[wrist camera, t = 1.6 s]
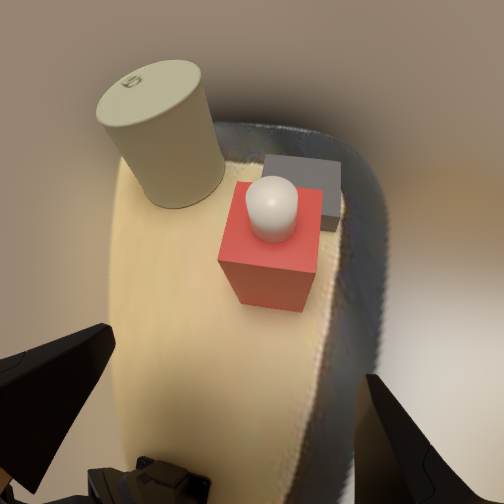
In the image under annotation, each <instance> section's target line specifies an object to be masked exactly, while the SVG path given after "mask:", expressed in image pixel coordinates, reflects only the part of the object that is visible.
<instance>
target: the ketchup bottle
mask: <svg viewBox="0 0 504 504" xmlns="http://www.w3.org/2000/svg"><path fill="white" fill-rule="evenodd" d="M322 196H323V190H315V189H307V188H299V187H294V185H293V184H292V183H291V182H290V181H288V180H286V179H285V178H282V177H278V176H266V177H262V178H260V179H258V180H256V181H255V182H253V183H251V182H239V181H237V184H236V187H235V191H234V195H233V199H232V203H231V207H230V211H229V215H228V219H227V223H226V227H225V231H224V235H223V239H222V243H221V247H220V251H219V255H218V262H219V264H220V266H221V268H222V269H223V271H224V273H225V275H226V277H227V279H228V281H229V282H230V284H231V286H232V288H233V290H234V292H235V293H236V295H237V297H238V299H239V301H240V303H242V304H248V305H254V306H261V307H267V308H274V309H281V310H288V311H296V312H302V311H303V308H304V306H305V303H306V300H307V297H308V294H309V291H310V289H311V286H312V283H313V280H314V277H315V274H316V266H317V256H318V246H319V235H320V223H321V210H322Z"/></svg>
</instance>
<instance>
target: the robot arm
mask: <svg viewBox="0 0 504 504" xmlns="http://www.w3.org/2000/svg"><path fill="white" fill-rule="evenodd" d="M115 345H116V342H115V338H114V334H113V330H112V327H111V326H110V325H107V324H104V323H100V324H97V325H94V326H92V327H89V328H86V329H84V330H81V331H78V332H76V333H73V334H70V335H68V336H65V337H62V338H60V339H57V340H54V341H52V342H49V343H46V344H43V345H41V346H38V347H35V348H33V349H30V350H28V351H24V352H22V353H19V354H16V355H13V356H10V357H7V358H4V359H0V504H27V503H23V502H21V501H18V500H15V499H14V494H13V489H12V486H11V485H10V484H9V483H10V482H11V480H12V479H14V480H16V481H17V482H18V483H19V484H20V485H22V486H23V487H24V488H25V489H27V490H28V491H29V492H31V493H32V494H33V495H34V494H35V493H36V491H37V489H38V487H39V485H40V483H41V481H42V479H43V477H44V475H45V473H46V471H47V469H48V467H49V466H50V464H51V462H52V460H53V458H54V456H55V454H56V452H57V450H58V449H59V447H60V445H61V443H62V441H63V440H64V438H65V436H66V434H67V433H68V431H69V429H70V427H71V426H72V424H73V422H74V420H75V419H76V417H77V415H78V414H79V412H80V410H81V408H82V407H83V405H84V404H85V402H86V400H87V399H88V397H89V395H90V394H91V392H92V391H93V389H94V387H95V386H96V384H97V382H98V381H99V379H100V377H101V375H102V373H103V371H104V369H105V367H106V365H107V363H108V361H109V359H110V357H111V355H112V353H113V351H114V349H115ZM142 460H144V462H145V464H144V463H142ZM354 463H355V504H504V503H498V502H492V501H488V500H485V499H483V498H481V497H479V496H478V495H476V494H475V493H474V492H473V491H472V490H471V489H470V488H469V487H468V486H467V485H466V484H465V483H464V482H463V481H462V479H461V478H460V477H459V476H458V475H457V474H456V473H455V472H454V471H453V470H452V469H451V468H450V467H449V466H448V465H447V463H446V462H445V461H444V460H443V459H442V457H441V456H440V455H439V454H438V452H437V451H436V450H435V448H434V447H433V446H432V445H430V442H429V441H428V439H427V438H426V437H425V435H424V434H423V433H422V431H421V430H420V429H419V428H418V426H417V425H416V424H415V423H414V421H413V420H412V418H411V417H410V416H409V415H408V413H407V412H406V411H405V409H404V408H403V407H402V406H401V404H400V403H399V402H398V400H397V399H396V398H395V397H394V395H393V394H392V393H391V391H390V390H389V389H388V388H387V386H386V385H385V384H384V383H383V381H382V380H381V379H380V378H379V376H378V375H376V374H365V375H364V377H363V379H362V381H361V383H360V386H359V388H358V390H357V394H356V410H355V424H354ZM203 481H206V482H207V483H208V484H204V483H203ZM211 484H212V481H211V480H210V479H209V478H208V477H205V476H201V475H197V474H194V473H191V472H189V471H188V470H187V469H184V468H181V467H178V466H175V465H172V464H169V463H166V462H164V461H161V460H158V461H155V460H153V459H150V458H147V457H145V456H141V457H139V458H138V459H137V463H136V469H135V470H133V471H131V472H121V471H119V470H116V469H114V468H99V469H89V470H88V496H82V495H74V496H70V497H67V498H63V499H60V500H56V501H52V502H48V503H44V504H207V502H208V498H209V493H210V489H211Z"/></svg>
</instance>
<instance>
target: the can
mask: <svg viewBox="0 0 504 504" xmlns="http://www.w3.org/2000/svg"><path fill="white" fill-rule="evenodd" d="M96 116H97V119H98V121H99V122H100V123H101V124H102V126H103V127H104V129H105V130H106V132H107V133H108V135H109V136H110V138H111V139H112V141H113V143H114V144H115V146H116V147H117V149H118V150H119V152H120V153H121V155H122V156H123V158H124V160H125V161H126V163H127V164H128V166H129V167H130V169H131V170H132V172H133V173H134V175H135V177H136V178H137V180H138V181H139V183H140V184H141V186H142V188H143V190H144V193H145V195H146V196H147V198H148V199H149V200H150V201H151V202H153V203H154V204H156V205H158V206H160V207H164V208H173V209H175V208H183V207H187V206H190V205H193V204H195V203H197V202H199V201H201V200H203V199H204V198H206V197H207V196H208V195H210V194H211V193H212V192H213V191H214V190H215V189H216V187H217V186H218V185H219V183H220V181H221V180H222V177H223V175H224V171H225V161H224V158H223V155H222V153H221V151H220V148H219V145H218V142H217V138H216V134H215V131H214V127H213V123H212V119H211V115H210V112H209V108H208V104H207V100H206V95H205V92H204V88H203V83H202V78H201V71H200V69H199V68H198V67H197V66H196V65H195V64H193V63H191V62H188V61H184V60H167V61H162V62H157V63H154V64H150V65H147V66H144V67H142V68H140V69H138V70H135V71H134V72H132V73H130V74H128V75H126V76H125V77H123V78H122V79H120V80H119V81H118V82H116V83H115V84H114V85H113V86H112V87H111V88H110V89H109V90H108V91H107V92H106V93H105V94H104V95H103V97H102V98H101V100H100V101H99V104H98V106H97V110H96Z"/></svg>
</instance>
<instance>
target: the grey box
mask: <svg viewBox="0 0 504 504" xmlns="http://www.w3.org/2000/svg"><path fill="white" fill-rule="evenodd" d="M266 176H278V177H282V178H285V179H286V180H288V181H290V182H291V183H292V184H293V185H294V187H299V188H307V189H315V190H323V196H322V210H321V223H320V230H321V231H329V232H335V231H336V228H337V225H338V223H339V220H340V210H341V162H336V161H329V160H320V159H312V158H302V157H292V156H281V155H269V154H266V156H265V162H264V167H263V172H262V177H266ZM262 177H261V178H262Z"/></svg>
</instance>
